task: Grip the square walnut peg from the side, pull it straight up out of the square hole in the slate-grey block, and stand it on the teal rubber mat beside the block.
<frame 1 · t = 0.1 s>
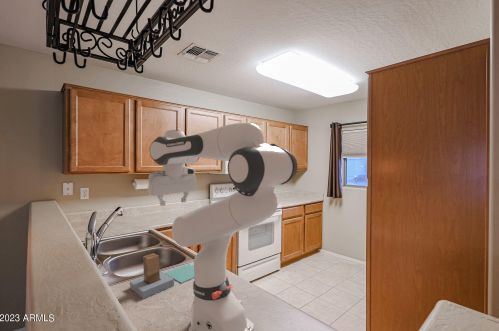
hand: (173, 203, 99), 39 cm above the countertop, tool pointing down, fingers open, 8 cm apart
walnut peg: (151, 271, 108), in the socket block
teal mat: (185, 273, 121), on the countertop
socket block: (152, 286, 108), on the countertop
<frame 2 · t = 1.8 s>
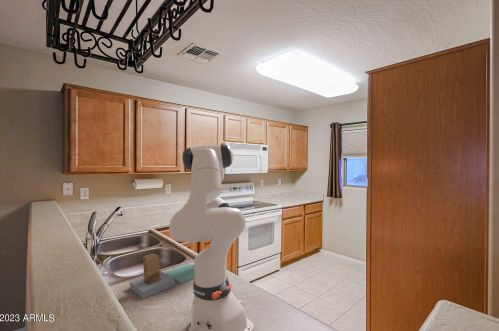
hand: (181, 230, 120), 22 cm above the countertop, tool horizontal, fingers open, 8 cm apart
nothing on the countertop moved.
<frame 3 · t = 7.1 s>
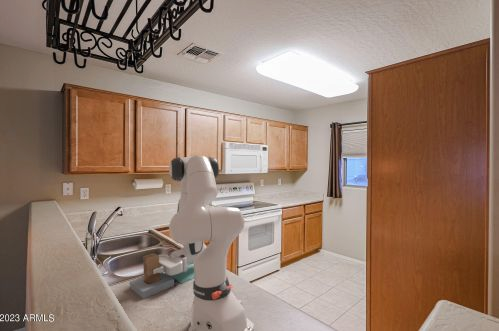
hand: (149, 269, 108), 8 cm above the countertop, tool horizontal, fingers closed on walnut peg, 5 cm apart
walnut peg: (151, 271, 108), in the socket block, touching gripper
when the fingers open (9 cm above the countertop, at t = 17.5 s): walnut peg stays where it is, resting on teal mat.
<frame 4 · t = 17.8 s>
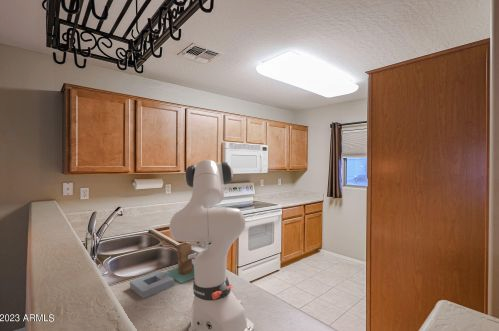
hand: (182, 255, 120), 9 cm above the countertop, tool horizontal, fingers open, 7 cm apart
walnut peg: (184, 258, 121), on the teal mat
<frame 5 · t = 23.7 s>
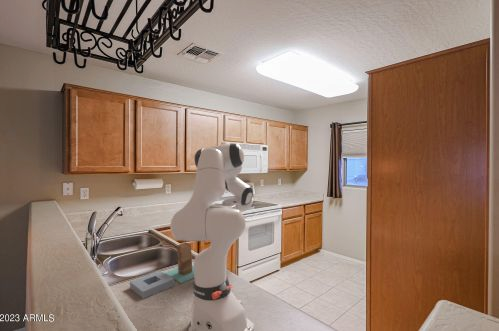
hand: (209, 211, 125), 30 cm above the countertop, tool horizontal, fingers open, 8 cm apart
nothing on the countertop moved.
at the end: walnut peg inside the target area on the teal mat (0.0 cm from its centre), point 7.4 cm above the teal mat's base; walnut peg tilted 0°; the gripper is holding nothing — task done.
